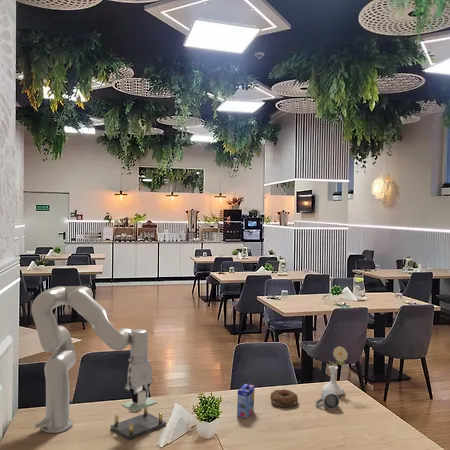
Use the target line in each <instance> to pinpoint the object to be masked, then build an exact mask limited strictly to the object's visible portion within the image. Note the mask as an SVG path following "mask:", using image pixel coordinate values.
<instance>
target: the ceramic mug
mask: <svg viewBox="0 0 450 450" xmlns="http://www.w3.org/2000/svg"><path fill="white" fill-rule="evenodd" d="M315 405H316V406H315V407H317V408H323V407H325V408H326V409H327V410H329V411H330V410H331V411H332V410H335V409H337V408H338V407H339V405H340V397H339V395H336V394H335V393H334V392H333V391H332V390H325V391H324V392H323V391H322V392H321V398H320V399H317V400H316V401H315Z"/></svg>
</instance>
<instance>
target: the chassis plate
mask: <svg viewBox="0 0 450 450" xmlns="http://www.w3.org/2000/svg"><path fill="white" fill-rule="evenodd" d="M119 417H120V416H119V415H118V414H115V415H114V424H112V425H110V430H111V431H114V432H115V433H117V434H118V435H120V436H121V437H123V439H126V440H128V441H132V440H133V439H136V438H138V437H141V436H143V435H146V434H149V433H151V432H153V431H156V430H159V429H161V428H164V427H166V426H167V422H166V421H165V420H163V413H162V412H159V413H158V417H157V416H155V415H153V414H152V413H150V412H148V407H146V408H143V413H142V414H139V415H137V416H134V417H131V418H129V419H125V420H123V421H120V422H119Z"/></svg>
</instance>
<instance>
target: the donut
mask: <svg viewBox="0 0 450 450" xmlns="http://www.w3.org/2000/svg"><path fill="white" fill-rule="evenodd" d="M270 400H271V402H272V404H274V405H275V406H278V407H284V408H289V407H293V406H295V405H296V404H298V402H299V401H298V400H299V397H298V395H297V393H295V392H293V391H292V390H290V389H283V388H282V389H276V390H275V389H274V390H273V392H271V393H270Z"/></svg>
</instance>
